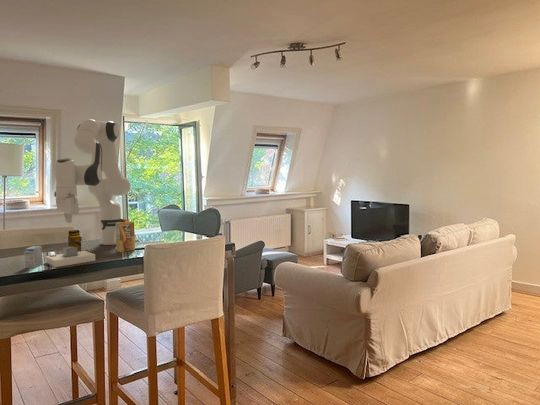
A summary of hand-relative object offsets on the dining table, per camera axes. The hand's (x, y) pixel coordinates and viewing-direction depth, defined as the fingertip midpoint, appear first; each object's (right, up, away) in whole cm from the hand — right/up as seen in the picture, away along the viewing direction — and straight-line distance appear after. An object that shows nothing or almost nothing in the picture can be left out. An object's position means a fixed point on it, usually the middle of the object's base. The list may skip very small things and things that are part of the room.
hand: (68, 222), depth 202 cm
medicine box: (-13, -20, -6) cm, 25 cm away
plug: (0, -18, +1) cm, 18 cm away
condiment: (-8, -18, +22) cm, 29 cm away
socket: (0, -19, +1) cm, 19 cm away
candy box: (+18, -17, +26) cm, 36 cm away
